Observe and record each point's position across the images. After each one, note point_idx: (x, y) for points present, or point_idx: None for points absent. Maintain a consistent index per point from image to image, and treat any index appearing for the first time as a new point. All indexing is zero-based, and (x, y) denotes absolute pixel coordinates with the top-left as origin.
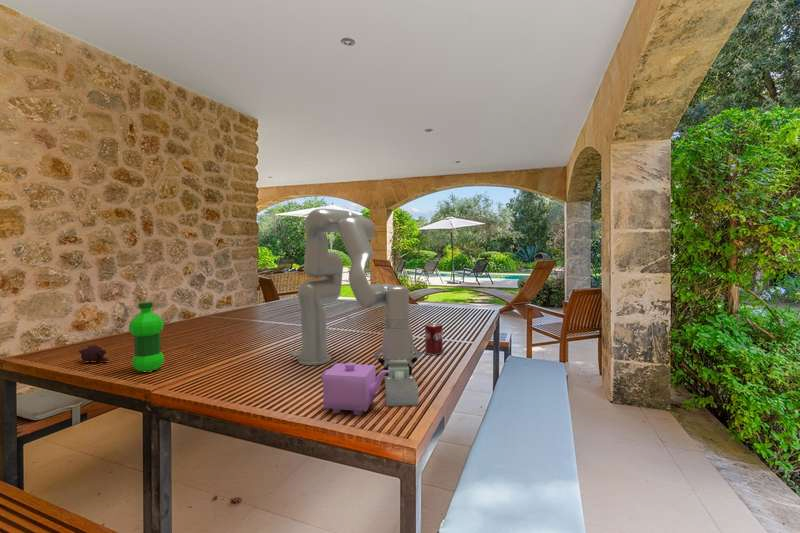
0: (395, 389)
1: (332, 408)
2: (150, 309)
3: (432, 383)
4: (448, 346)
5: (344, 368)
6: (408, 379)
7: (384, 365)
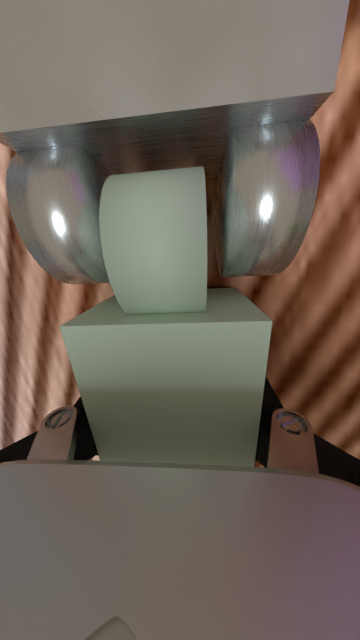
0: None
1: None
2: None
3: (25, 337)
4: None
5: None
6: (43, 65)
7: (295, 425)
